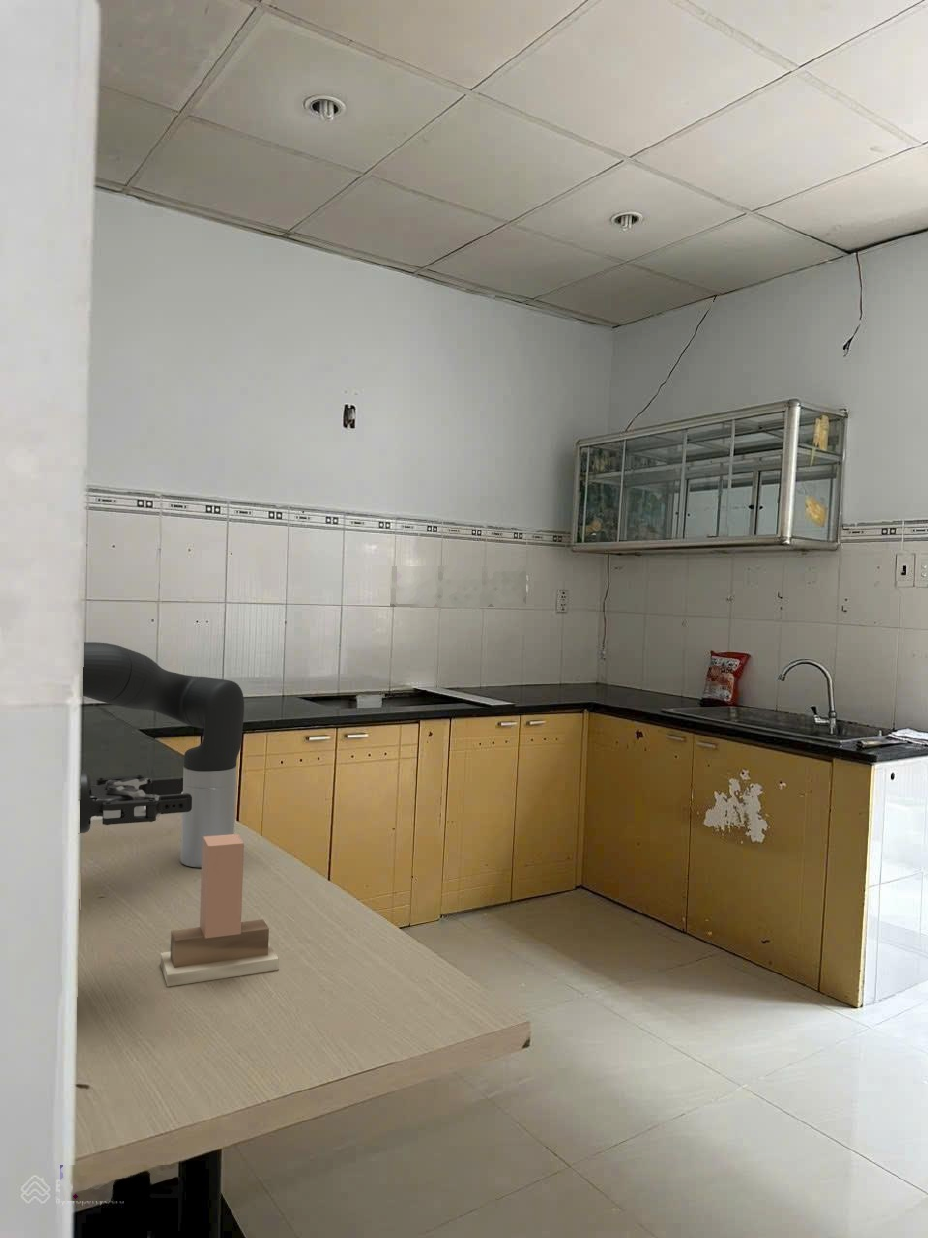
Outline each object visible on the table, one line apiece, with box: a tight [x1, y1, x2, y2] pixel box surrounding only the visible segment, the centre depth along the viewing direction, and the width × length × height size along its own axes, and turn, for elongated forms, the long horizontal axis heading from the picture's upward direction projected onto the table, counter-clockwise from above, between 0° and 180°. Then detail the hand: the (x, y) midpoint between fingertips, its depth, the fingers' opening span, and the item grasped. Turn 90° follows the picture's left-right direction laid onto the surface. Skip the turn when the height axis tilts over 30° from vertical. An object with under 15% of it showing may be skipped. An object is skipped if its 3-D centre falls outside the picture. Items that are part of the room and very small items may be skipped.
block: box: [199, 833, 245, 938], centre depth 116 cm, size 4×4×12 cm
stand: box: [160, 918, 280, 987], centre depth 117 cm, size 7×14×5 cm, turn 116°
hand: (186, 793), depth 114 cm, fingers open, 8 cm apart
